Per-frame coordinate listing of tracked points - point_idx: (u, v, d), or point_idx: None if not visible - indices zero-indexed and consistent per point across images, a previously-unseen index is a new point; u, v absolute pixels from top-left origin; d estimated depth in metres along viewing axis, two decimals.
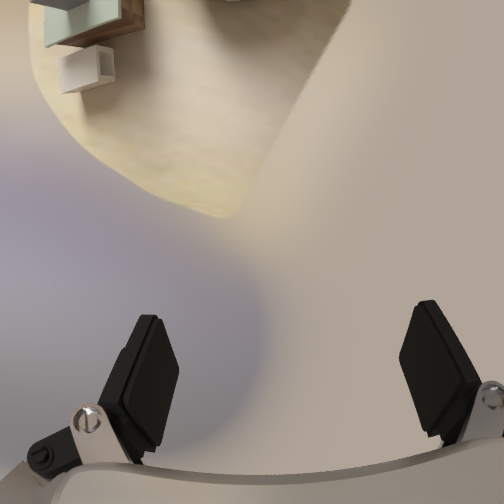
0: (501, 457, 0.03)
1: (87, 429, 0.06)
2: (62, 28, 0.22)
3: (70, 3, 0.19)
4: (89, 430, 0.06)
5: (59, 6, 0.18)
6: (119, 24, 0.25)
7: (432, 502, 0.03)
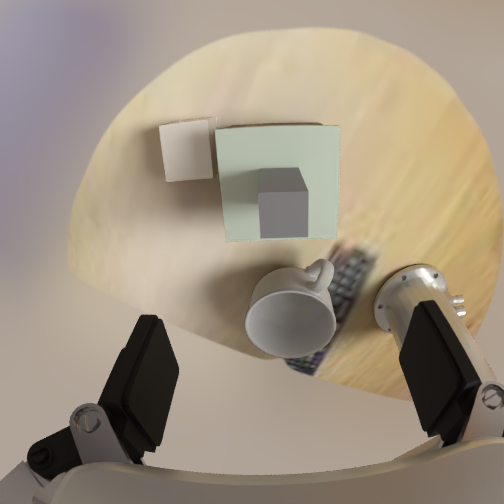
0: (501, 457, 0.03)
1: (87, 429, 0.06)
2: (234, 162, 0.25)
3: None
4: (89, 430, 0.06)
5: None
6: None
7: (432, 502, 0.03)
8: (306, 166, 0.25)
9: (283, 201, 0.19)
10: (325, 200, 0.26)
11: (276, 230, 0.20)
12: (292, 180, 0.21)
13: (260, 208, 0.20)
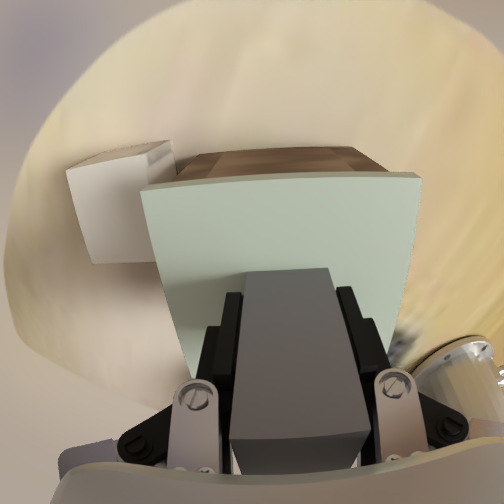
0: (501, 457, 0.03)
1: (191, 405, 0.07)
2: (188, 259, 0.12)
3: None
4: (192, 406, 0.07)
5: None
6: None
7: (432, 502, 0.03)
8: (345, 265, 0.12)
9: (299, 448, 0.06)
10: None
11: (279, 474, 0.07)
12: (321, 351, 0.08)
13: (239, 455, 0.06)
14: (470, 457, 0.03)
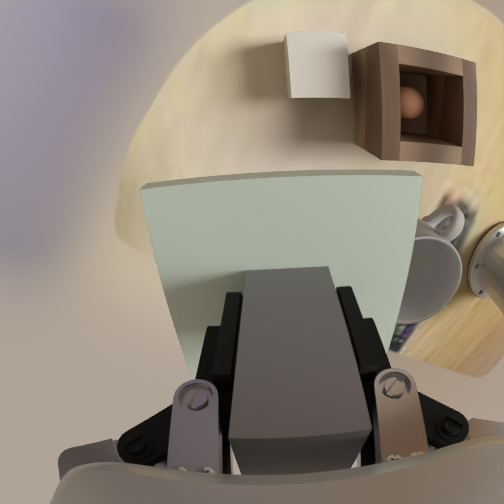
0: (501, 457, 0.03)
1: (191, 405, 0.07)
2: (188, 258, 0.12)
3: None
4: (192, 407, 0.07)
5: None
6: (369, 137, 0.24)
7: (432, 502, 0.03)
8: (345, 263, 0.12)
9: (299, 448, 0.06)
10: (373, 319, 0.13)
11: (279, 473, 0.07)
12: (322, 349, 0.08)
13: (238, 455, 0.06)
14: (470, 457, 0.03)
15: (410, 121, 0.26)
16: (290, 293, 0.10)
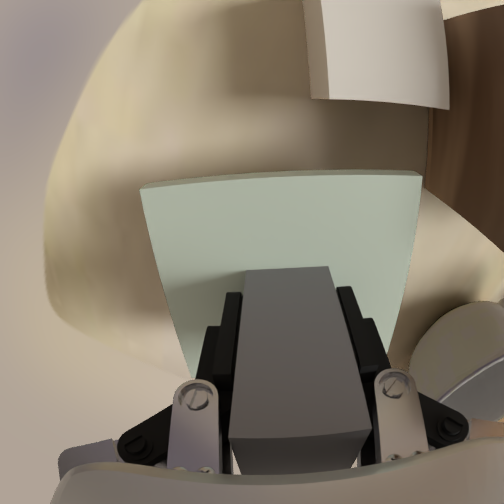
0: (501, 457, 0.03)
1: (191, 405, 0.07)
2: (188, 257, 0.12)
3: None
4: (192, 407, 0.07)
5: None
6: (473, 193, 0.10)
7: (432, 502, 0.03)
8: (345, 263, 0.12)
9: (299, 448, 0.06)
10: (373, 319, 0.13)
11: (279, 473, 0.07)
12: (322, 349, 0.08)
13: (238, 455, 0.06)
14: (470, 457, 0.03)
15: None
16: (290, 293, 0.10)
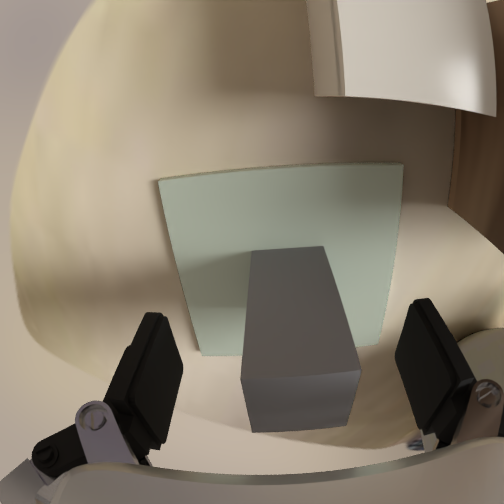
0: (501, 457, 0.03)
1: (93, 427, 0.06)
2: (200, 240, 0.13)
3: None
4: (95, 428, 0.06)
5: None
6: None
7: (432, 502, 0.03)
8: (338, 243, 0.13)
9: (301, 390, 0.08)
10: (366, 295, 0.15)
11: (284, 424, 0.09)
12: (317, 309, 0.10)
13: (248, 400, 0.08)
14: (470, 457, 0.03)
15: None
16: (290, 267, 0.12)
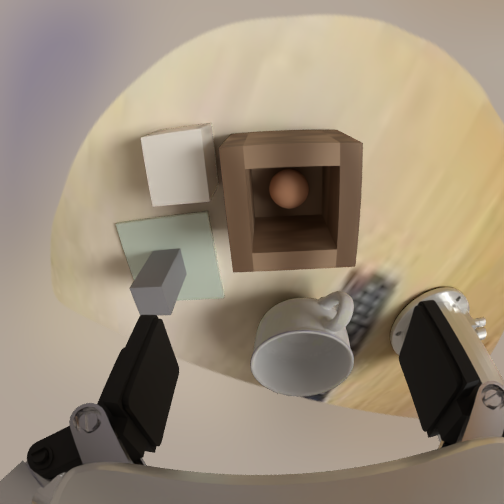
0: (501, 457, 0.03)
1: (87, 429, 0.06)
2: (133, 247, 0.32)
3: None
4: (89, 431, 0.06)
5: None
6: None
7: (432, 502, 0.03)
8: (186, 247, 0.32)
9: (147, 293, 0.26)
10: (207, 271, 0.33)
11: (148, 310, 0.27)
12: (161, 270, 0.28)
13: (134, 297, 0.26)
14: (470, 457, 0.03)
15: None
16: (162, 257, 0.30)
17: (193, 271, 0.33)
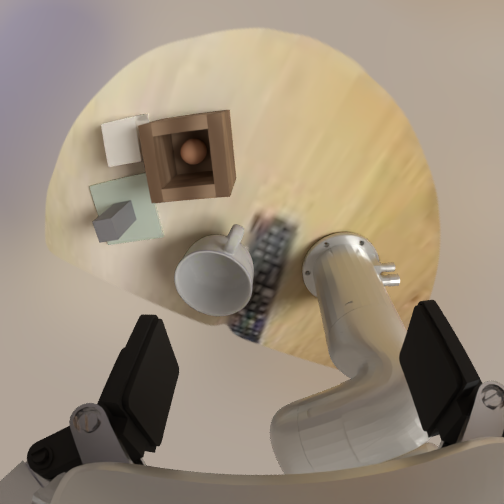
0: (501, 457, 0.03)
1: (87, 429, 0.06)
2: (101, 202, 0.43)
3: None
4: (89, 431, 0.06)
5: None
6: None
7: (432, 502, 0.03)
8: (134, 198, 0.43)
9: (102, 224, 0.37)
10: (149, 216, 0.44)
11: (104, 238, 0.38)
12: (114, 211, 0.39)
13: (95, 228, 0.38)
14: (470, 457, 0.03)
15: (206, 162, 0.39)
16: (117, 205, 0.42)
17: (140, 217, 0.44)
